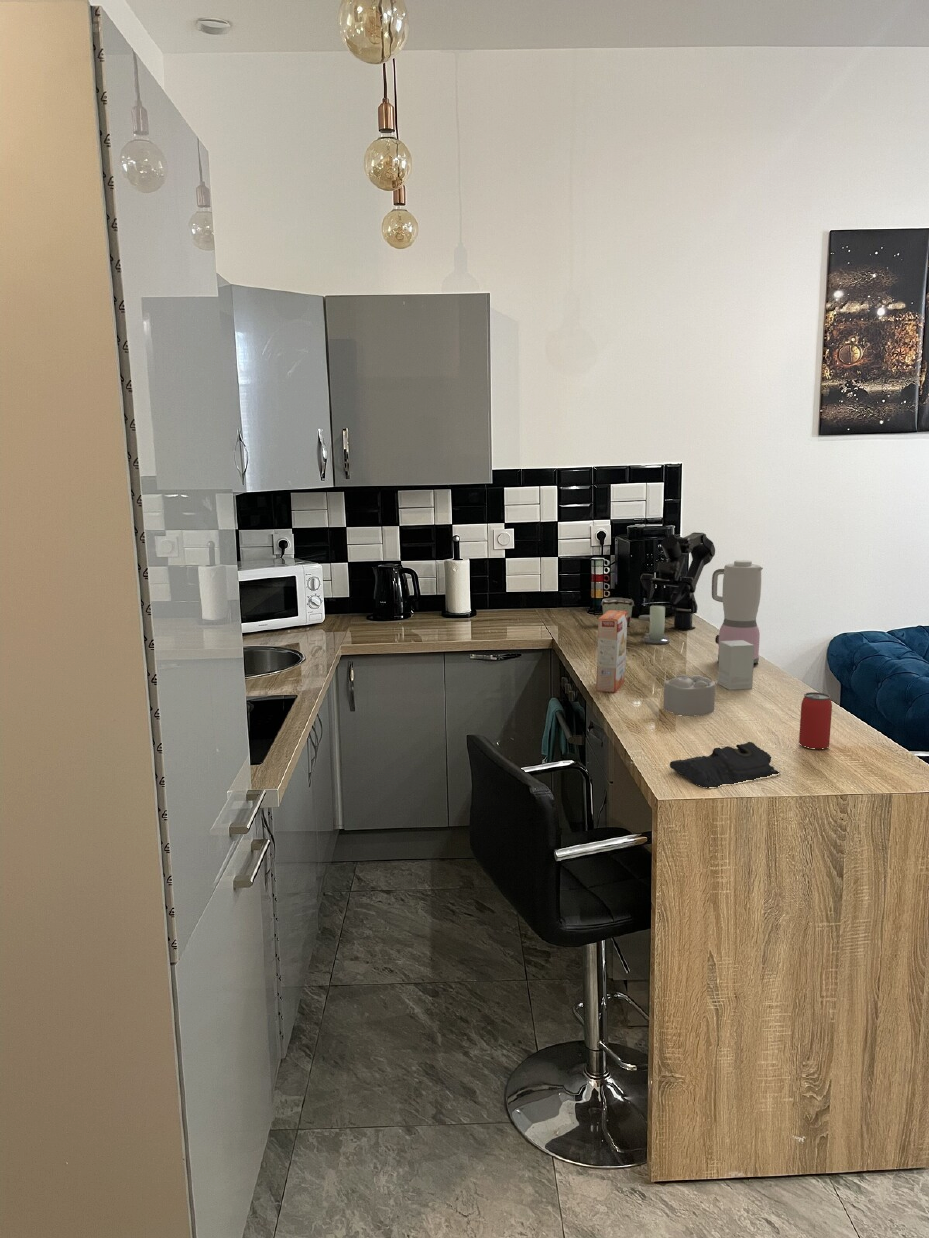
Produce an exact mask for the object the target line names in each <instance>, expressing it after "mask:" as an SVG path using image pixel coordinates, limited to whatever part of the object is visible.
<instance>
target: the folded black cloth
mask: <svg viewBox="0 0 929 1238" xmlns="http://www.w3.org/2000/svg"><path fill="white" fill-rule="evenodd" d="M771 760H772V756H771V755H770V754H769V753H768V752H767V751H765V749H761V748H760V747H758V745H756V744H755V743H754V742H753V741H747V742H746V743H741V744H736V746H735V747H732V746H728V745H727V746H724V747H714V748H713V749H712V752H711V754H710V755H706V756H705V755H702V756H694V757H689V758H685V759H677V760H671V761H670V762H669V768H670V769H671V770H673V771H676V772H677V773H678V774H681V776H684V777H685V778H686V779H687V780H688V781H690V782H692V783H693V784H694V785H696V784H697V785H700V786H702V787H707V788H709V787H718V786H720V785H722V784H734V783H738V782H743V781H746V780H754V779H756V778H760V777H767V776H770V775H772V774H778V773H780V771H779V772H778V770H776V769H775V767H774V766H771V765H770V763H771ZM697 785H696V786H697ZM700 786H699V787H700ZM702 787H701V788H702ZM707 788H706V789H707Z"/></svg>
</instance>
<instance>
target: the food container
mask: <svg viewBox="0 0 929 1238" xmlns="http://www.w3.org/2000/svg"><path fill="white" fill-rule="evenodd" d="M600 606H602V615H604V614H605V613H606V612H607V611H609V610H614V611H626V612H628V614H627V626H630V627H631V620H632V619H631V618H632V613H633V612H632V611H633V607H635V603H634V600H633V599H629V598H623V597H607V598H603V599H602V601H600Z"/></svg>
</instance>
